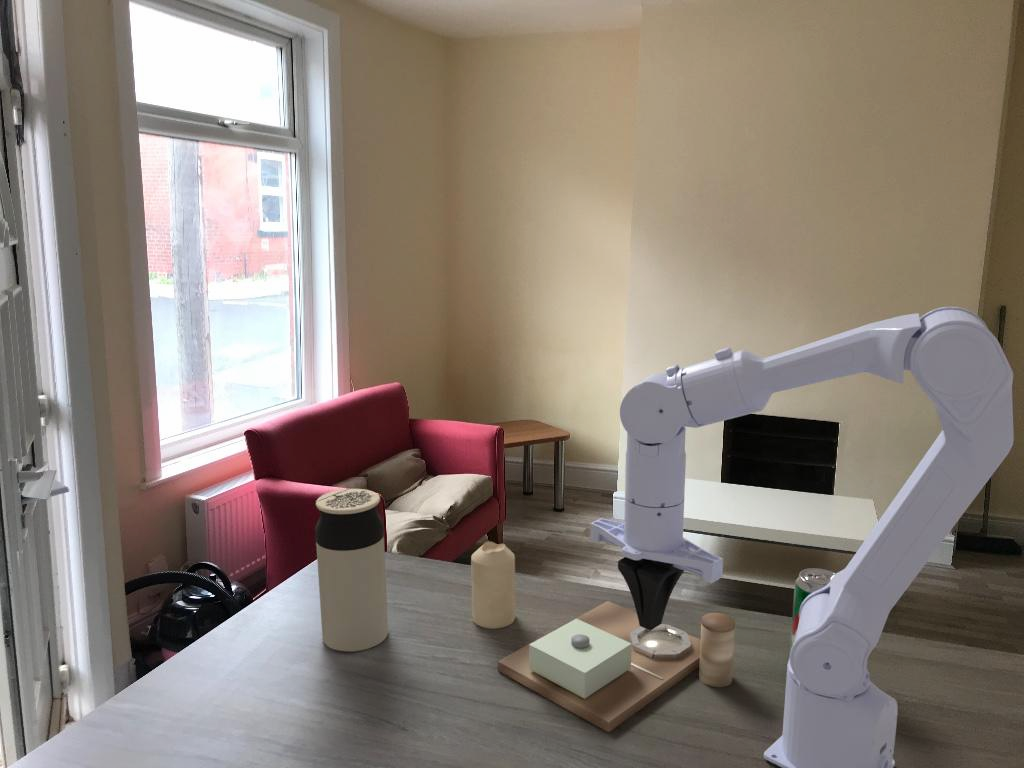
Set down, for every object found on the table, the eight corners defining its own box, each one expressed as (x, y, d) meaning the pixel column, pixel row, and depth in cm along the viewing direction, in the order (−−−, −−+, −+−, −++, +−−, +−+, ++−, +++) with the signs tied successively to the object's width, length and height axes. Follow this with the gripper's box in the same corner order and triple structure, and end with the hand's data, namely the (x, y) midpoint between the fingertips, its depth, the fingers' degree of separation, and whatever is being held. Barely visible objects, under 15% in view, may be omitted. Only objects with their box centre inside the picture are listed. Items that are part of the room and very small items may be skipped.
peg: (738, 677, 92) (741, 620, 90) (721, 691, 89) (724, 632, 88) (710, 665, 94) (712, 609, 93) (692, 678, 92) (695, 621, 90)
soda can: (840, 690, 89) (849, 589, 87) (791, 685, 90) (798, 584, 88) (832, 665, 94) (840, 568, 92) (786, 660, 95) (792, 564, 93)
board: (715, 655, 96) (715, 644, 96) (608, 732, 83) (608, 720, 82) (607, 609, 107) (607, 599, 107) (497, 670, 94) (497, 659, 93)
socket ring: (700, 642, 97) (701, 638, 97) (667, 665, 92) (667, 661, 92) (653, 622, 101) (653, 618, 101) (619, 643, 97) (619, 639, 97)
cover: (630, 668, 91) (631, 638, 90) (584, 698, 86) (584, 667, 85) (576, 641, 97) (576, 613, 96) (529, 668, 91) (529, 639, 90)
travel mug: (401, 635, 101) (395, 498, 97) (347, 661, 96) (339, 516, 92) (362, 614, 107) (355, 482, 103) (309, 637, 101) (300, 499, 97)
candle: (466, 613, 107) (464, 541, 105) (504, 604, 109) (503, 534, 107) (482, 633, 102) (481, 558, 100) (522, 623, 104) (522, 550, 102)
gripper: (571, 490, 82) (570, 614, 85) (695, 529, 72) (690, 668, 75) (614, 473, 87) (612, 591, 90) (737, 508, 77) (730, 639, 80)
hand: (650, 624), depth 83 cm, fingers closed
